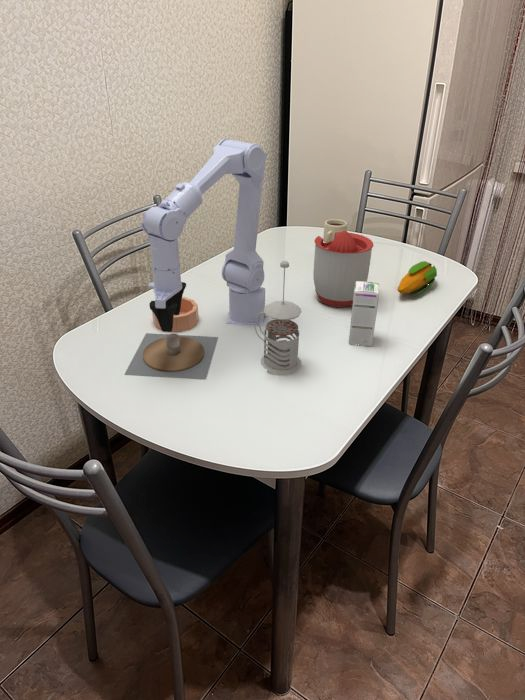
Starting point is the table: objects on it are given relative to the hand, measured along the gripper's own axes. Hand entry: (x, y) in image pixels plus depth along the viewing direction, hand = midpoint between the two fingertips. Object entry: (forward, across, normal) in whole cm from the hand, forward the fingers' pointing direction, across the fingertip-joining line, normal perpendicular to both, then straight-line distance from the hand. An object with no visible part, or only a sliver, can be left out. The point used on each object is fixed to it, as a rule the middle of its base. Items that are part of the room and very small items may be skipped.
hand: (171, 322), depth 116 cm
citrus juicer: (+9, -35, +39) cm, 53 cm away
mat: (+9, 0, 0) cm, 9 cm away
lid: (+9, 0, 0) cm, 9 cm away
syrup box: (+9, -12, +44) cm, 47 cm away
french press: (+9, 0, +24) cm, 26 cm away
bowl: (+9, -16, -3) cm, 19 cm away
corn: (+9, -42, +62) cm, 76 cm away
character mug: (+9, -62, +39) cm, 74 cm away
